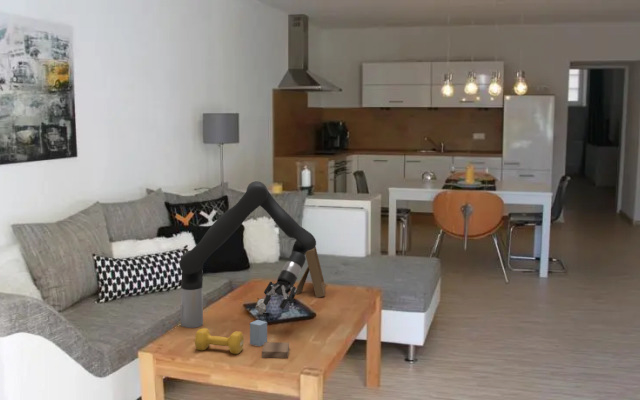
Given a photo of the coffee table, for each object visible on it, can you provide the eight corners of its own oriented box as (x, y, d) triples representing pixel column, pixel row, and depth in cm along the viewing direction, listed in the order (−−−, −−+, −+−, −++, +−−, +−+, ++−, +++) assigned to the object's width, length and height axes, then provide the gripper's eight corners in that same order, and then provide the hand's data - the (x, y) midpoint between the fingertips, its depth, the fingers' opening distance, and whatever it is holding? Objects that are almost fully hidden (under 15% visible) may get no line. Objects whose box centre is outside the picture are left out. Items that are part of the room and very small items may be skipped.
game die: (266, 323, 311) (269, 310, 304) (249, 315, 312) (252, 303, 305) (274, 309, 317) (277, 297, 310) (258, 302, 318) (261, 289, 311)
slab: (261, 358, 260) (261, 351, 260) (264, 349, 270) (264, 342, 270) (287, 359, 260) (287, 352, 260) (289, 349, 270) (289, 342, 270)
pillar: (250, 343, 275) (249, 323, 273) (257, 340, 279) (257, 319, 277) (259, 346, 272) (259, 325, 270) (267, 343, 276) (267, 322, 274)
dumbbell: (192, 352, 265) (192, 332, 264) (202, 344, 274) (201, 325, 273) (237, 357, 261) (237, 337, 259) (245, 349, 269) (245, 329, 268)
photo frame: (324, 285, 360) (324, 240, 357) (324, 297, 339) (324, 249, 335) (297, 285, 361) (297, 240, 357) (295, 297, 339) (294, 249, 335)
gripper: (272, 267, 290) (255, 298, 282) (299, 272, 282) (282, 304, 274) (280, 276, 295) (263, 307, 287) (306, 281, 287) (290, 314, 280)
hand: (273, 306), depth 281 cm, fingers open, 8 cm apart
